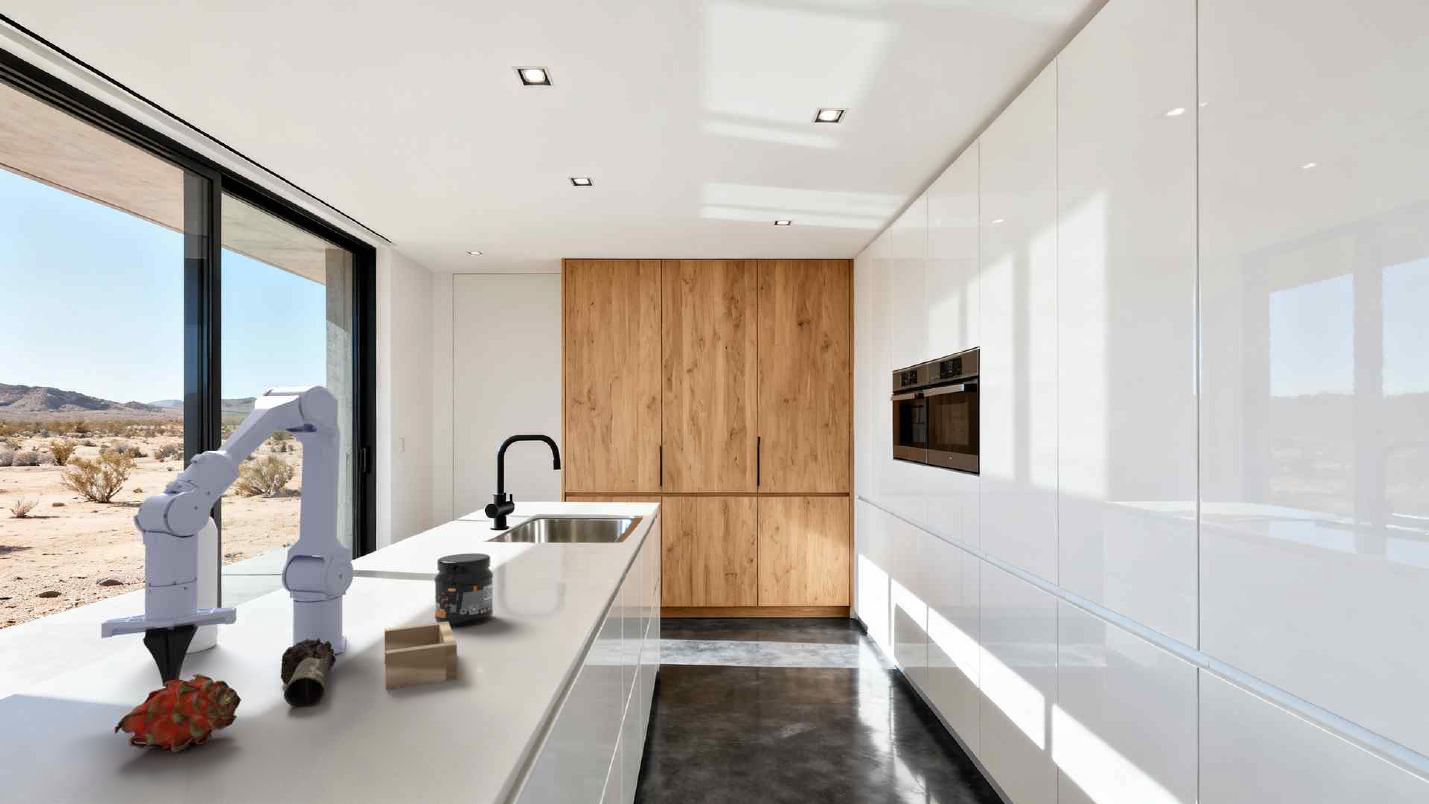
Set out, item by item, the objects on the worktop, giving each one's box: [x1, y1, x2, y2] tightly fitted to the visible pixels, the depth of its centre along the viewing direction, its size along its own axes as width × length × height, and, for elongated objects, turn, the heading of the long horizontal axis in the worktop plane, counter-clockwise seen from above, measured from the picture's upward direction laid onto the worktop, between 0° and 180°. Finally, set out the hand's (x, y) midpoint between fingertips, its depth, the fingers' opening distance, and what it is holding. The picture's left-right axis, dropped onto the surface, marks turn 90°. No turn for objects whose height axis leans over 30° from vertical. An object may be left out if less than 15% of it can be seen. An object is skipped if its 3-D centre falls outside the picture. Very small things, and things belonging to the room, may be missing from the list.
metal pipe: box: [280, 638, 337, 709], centre depth 104 cm, size 18×7×6 cm, turn 23°
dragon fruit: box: [114, 673, 242, 754], centre depth 85 cm, size 8×8×12 cm
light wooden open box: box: [384, 621, 458, 690], centre depth 111 cm, size 14×10×5 cm
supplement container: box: [434, 552, 494, 628], centre depth 138 cm, size 10×10×12 cm
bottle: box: [176, 470, 219, 655], centre depth 124 cm, size 8×8×30 cm
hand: (171, 683), depth 98 cm, fingers closed
